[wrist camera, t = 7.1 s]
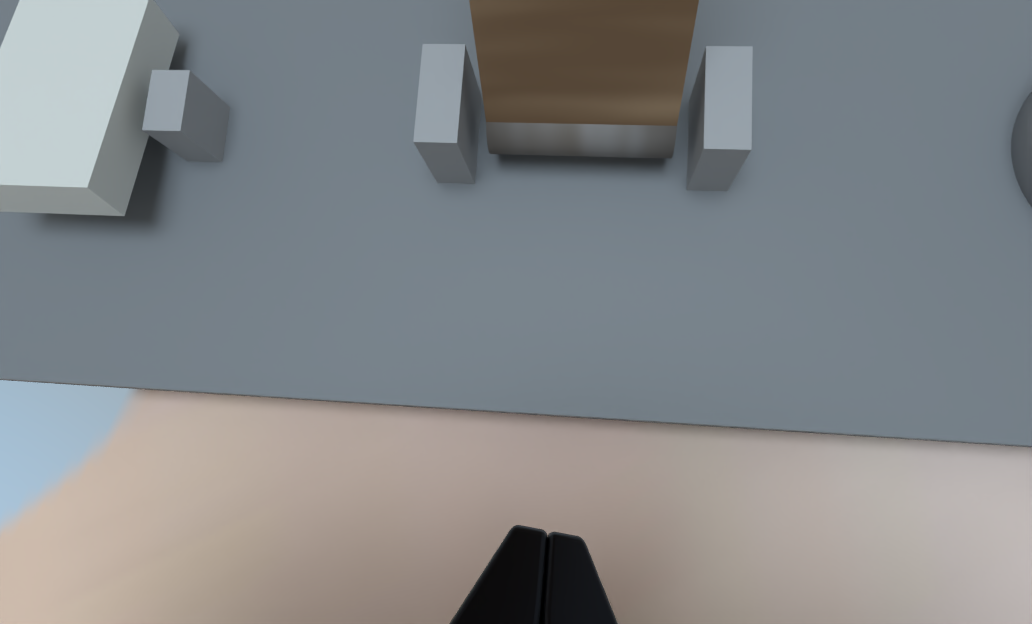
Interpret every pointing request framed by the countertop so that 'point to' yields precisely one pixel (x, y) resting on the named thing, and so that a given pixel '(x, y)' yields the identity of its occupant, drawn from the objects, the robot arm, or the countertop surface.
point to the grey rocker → (77, 102)
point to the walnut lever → (583, 75)
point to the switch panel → (565, 228)
